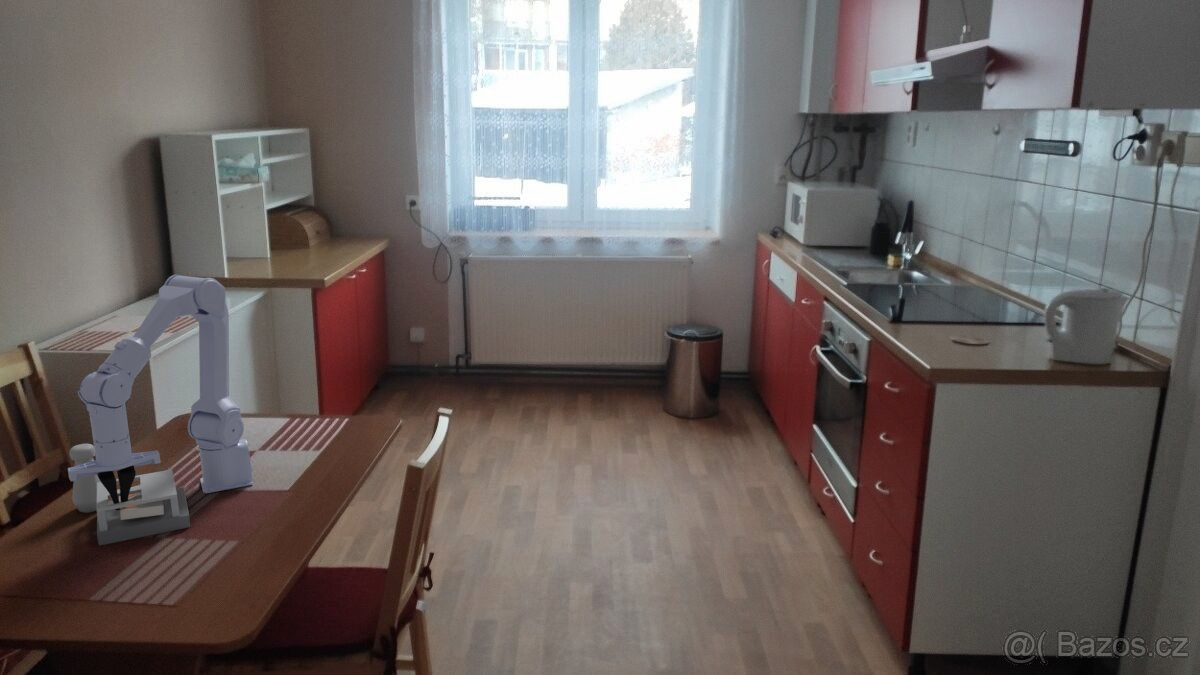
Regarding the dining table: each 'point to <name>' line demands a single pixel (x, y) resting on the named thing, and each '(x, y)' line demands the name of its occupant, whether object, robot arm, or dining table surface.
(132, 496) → the rocker far
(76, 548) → the dining table surface
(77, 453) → the salt shaker
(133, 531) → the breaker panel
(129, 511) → the rocker near
